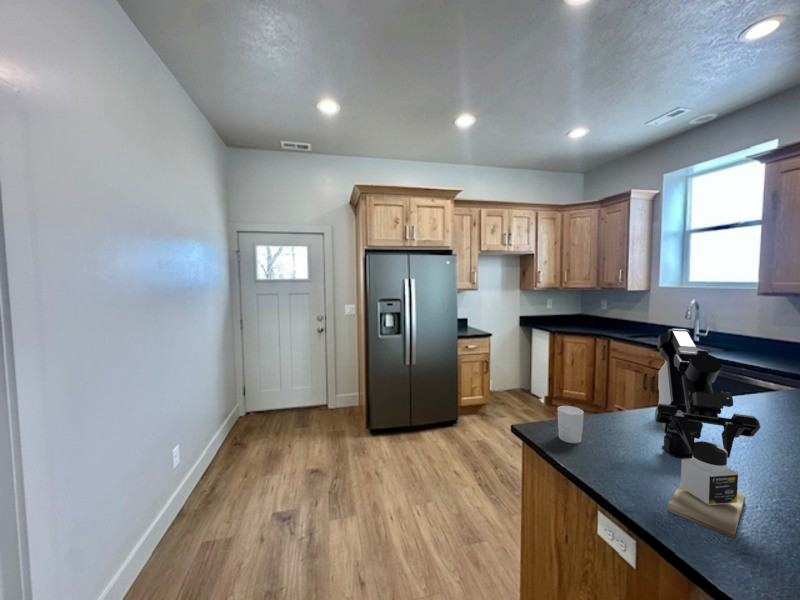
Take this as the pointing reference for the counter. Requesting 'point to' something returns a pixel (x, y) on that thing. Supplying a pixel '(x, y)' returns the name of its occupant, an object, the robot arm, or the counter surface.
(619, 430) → the counter surface
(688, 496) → the tan flat slab
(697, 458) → the medicine bottle
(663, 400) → the water bottle
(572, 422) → the white cup
